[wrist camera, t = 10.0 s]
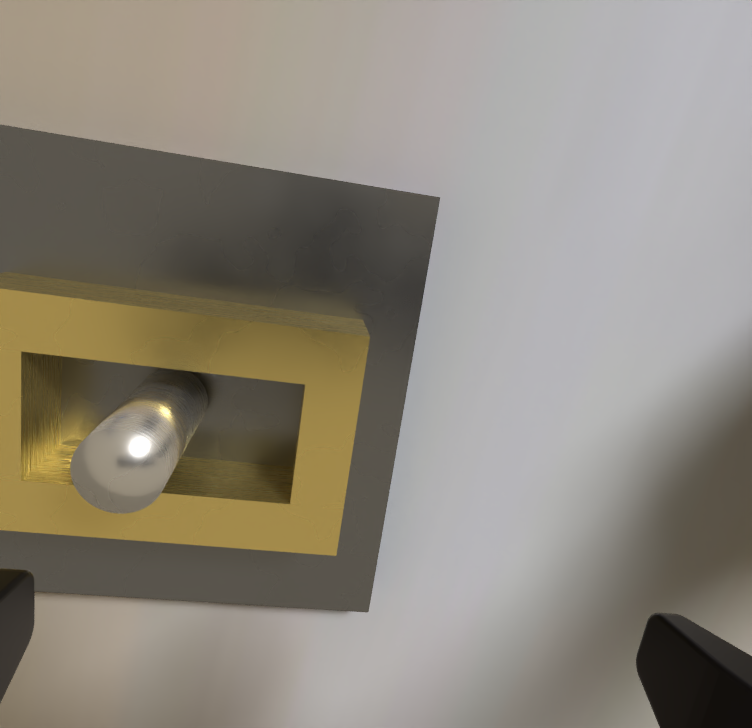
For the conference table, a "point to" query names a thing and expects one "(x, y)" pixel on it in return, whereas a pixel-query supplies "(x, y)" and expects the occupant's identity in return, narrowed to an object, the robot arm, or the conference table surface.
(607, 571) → the conference table surface
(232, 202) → the keeper plate
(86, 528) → the yellow rectangular frame
